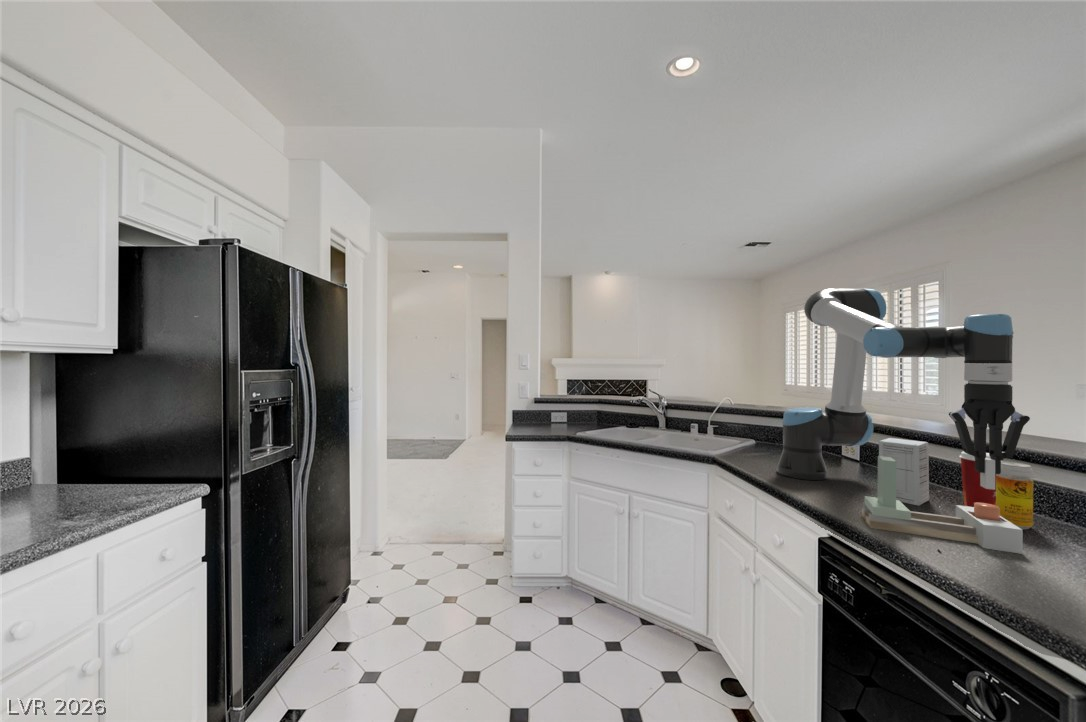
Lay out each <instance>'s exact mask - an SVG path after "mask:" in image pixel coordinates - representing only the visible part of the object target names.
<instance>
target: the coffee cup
mask: <svg viewBox="0 0 1086 722" xmlns="http://www.w3.org/2000/svg"><path fill="white" fill-rule="evenodd" d="M959 458H960V466H961V478H962V479H961V482H962V492H963V493H962V494H963V503H964V504H963V506H968V507H974V503H976V502H979V503H987V504H992V505H996V474H995V490H993V489H986V488H984V487H982V486H980V473H979V472H977V471H976V470H975V457H974V456H972V455H969V454H967V453H965V452H964V451H963V450H962V451H961V453H960V454H959ZM986 458H990V456H989V452H986ZM1001 462H1004V460H1002V461H1001Z"/></svg>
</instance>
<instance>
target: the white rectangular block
mask: <svg viewBox="0 0 1086 722" xmlns="http://www.w3.org/2000/svg"><path fill="white" fill-rule="evenodd" d="M955 517H960V518H963V519H964V525H965V526H973V527H975V528H976V536H978V545H979V546H980V547H982V548H983V549H986V550H987V549H988V550H995V551H1001V552H1008V553H1015V554H1023V544H1024V543H1023V541H1024V540H1023V536H1024V535H1023V533H1024V532H1023V530H1024V529H1020V528H1019V527H1017V526H1016V525H1014V524H1012V523H1011V522H1009V521H1008V520H1006V519H1005V518H1003V517H1001V516H1000V521H995V520H987V519H979V518H976V517H974V507H968V506H965V505H960V504H955Z"/></svg>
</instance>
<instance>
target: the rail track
mask: <svg viewBox="0 0 1086 722" xmlns="http://www.w3.org/2000/svg"><path fill="white" fill-rule="evenodd" d="M910 511H911V510H910ZM861 516H862V518H863V519H864V520H865V523H866V524H867V525H868V526H869V528H870V529H875V530H876V529H877V530H883V531H890V532H896V533H902V534H903V533H904V534H910V535H917V536H924V537H932V538H938V539H945V540H952V541H958V542H963V543H965V542H966V543H972V544H978V536H976V528H975V527H973V526H965V525H964V519H963V518H960V517H956V516H951V515H943V514H936V513H935V514H934V513H926V512H919V511H911V520H905V519H897V518H890V517H883V516H875V515H873V514H872V513H871V512H870V510H869V509H868V508H867V506H866V505H865V504H863V505H862V510H861ZM978 545H979V544H978Z"/></svg>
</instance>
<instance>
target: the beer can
mask: <svg viewBox="0 0 1086 722" xmlns="http://www.w3.org/2000/svg"><path fill="white" fill-rule="evenodd" d="M996 506H998V507H1000V516H1001V517H1003V518H1005V519H1006V520H1008V521H1009V522H1011V523H1012V524H1014V525H1016V526H1017V527H1019V528H1020V529H1022V530H1030V528H1032V527H1033V526H1034V469H1033V468H1032V466H1031V465H1030V464H1026V463H1020V462H1015V461H1003V462H1001V473H1000V474H996Z"/></svg>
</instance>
